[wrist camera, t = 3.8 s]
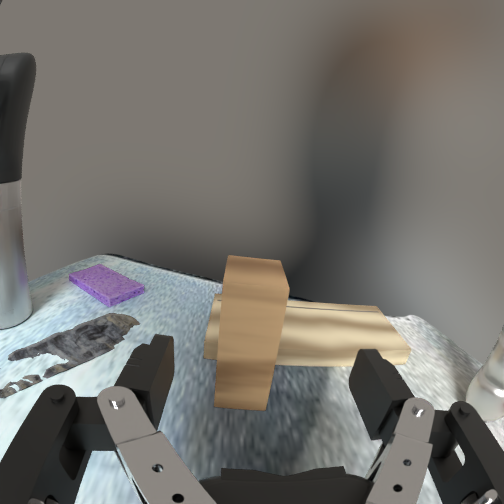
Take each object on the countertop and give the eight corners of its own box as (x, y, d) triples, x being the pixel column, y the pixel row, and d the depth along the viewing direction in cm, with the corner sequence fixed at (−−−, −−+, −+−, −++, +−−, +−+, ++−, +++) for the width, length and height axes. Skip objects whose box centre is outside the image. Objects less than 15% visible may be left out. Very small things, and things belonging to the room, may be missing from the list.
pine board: (405, 364, 31) (411, 349, 30) (203, 358, 30) (204, 341, 29) (372, 318, 43) (376, 306, 42) (214, 307, 41) (215, 293, 41)
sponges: (109, 310, 37) (108, 298, 36) (68, 282, 42) (67, 272, 42) (145, 295, 43) (145, 284, 43) (100, 272, 48) (100, 262, 48)
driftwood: (122, 315, 37) (120, 301, 36) (154, 336, 34) (153, 321, 33) (-14, 369, 20) (-20, 353, 19) (3, 408, 16) (-6, 392, 16)
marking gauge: (265, 410, 24) (289, 288, 20) (214, 406, 23) (223, 281, 20) (258, 315, 41) (269, 230, 37) (225, 312, 41) (234, 226, 37)
